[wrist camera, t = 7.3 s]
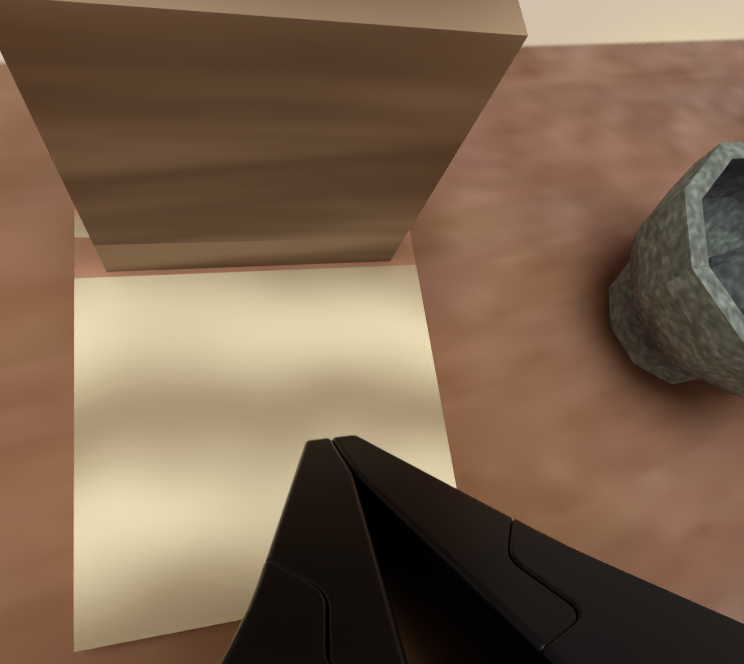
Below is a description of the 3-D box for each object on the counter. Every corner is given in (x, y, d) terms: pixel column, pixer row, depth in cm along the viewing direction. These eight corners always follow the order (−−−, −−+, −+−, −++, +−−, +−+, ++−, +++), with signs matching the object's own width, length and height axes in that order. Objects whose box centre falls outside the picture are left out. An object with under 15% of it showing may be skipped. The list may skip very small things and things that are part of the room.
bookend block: (390, 261, 22) (527, 35, 12) (106, 271, 19) (-27, -6, 9) (371, 148, 23) (480, -139, 13) (104, 144, 21) (-14, -218, 11)
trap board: (450, 570, 21) (472, 575, 19) (89, 639, 18) (73, 652, 16) (383, 176, 26) (395, 149, 24) (87, 175, 22) (74, 144, 21)
